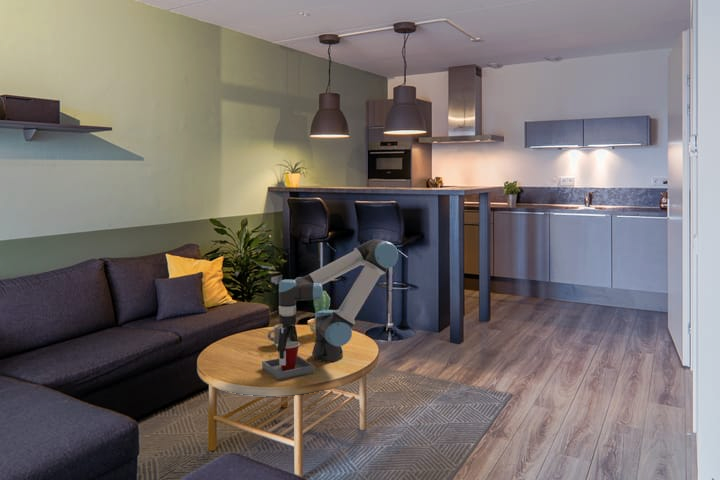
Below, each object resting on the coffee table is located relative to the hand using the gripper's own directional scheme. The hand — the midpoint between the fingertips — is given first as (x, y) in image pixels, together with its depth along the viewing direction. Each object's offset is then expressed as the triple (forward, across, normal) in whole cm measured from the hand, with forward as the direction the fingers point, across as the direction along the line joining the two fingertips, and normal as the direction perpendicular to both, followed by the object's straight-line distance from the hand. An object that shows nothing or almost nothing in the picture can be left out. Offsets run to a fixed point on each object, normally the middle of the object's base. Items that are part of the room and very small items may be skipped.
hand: (287, 360), depth 250 cm
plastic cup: (+4, 0, 0) cm, 4 cm away
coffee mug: (+5, -37, -17) cm, 41 cm away
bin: (+5, 0, 0) cm, 5 cm away
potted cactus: (+5, -58, -1) cm, 58 cm away
